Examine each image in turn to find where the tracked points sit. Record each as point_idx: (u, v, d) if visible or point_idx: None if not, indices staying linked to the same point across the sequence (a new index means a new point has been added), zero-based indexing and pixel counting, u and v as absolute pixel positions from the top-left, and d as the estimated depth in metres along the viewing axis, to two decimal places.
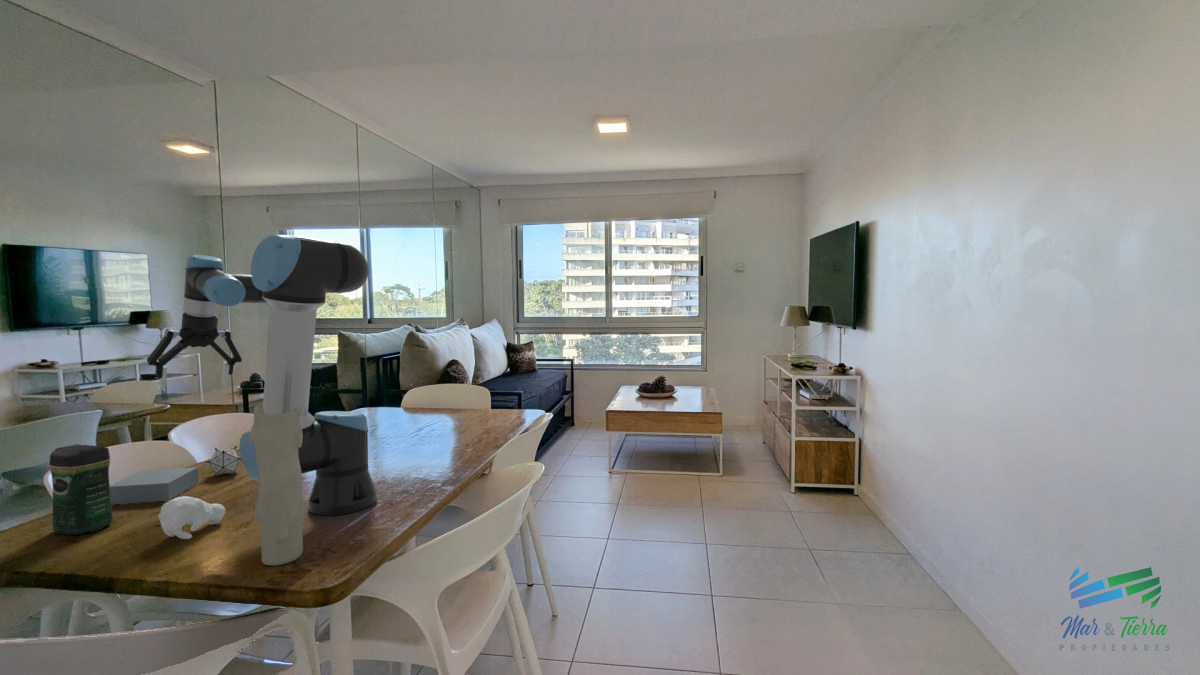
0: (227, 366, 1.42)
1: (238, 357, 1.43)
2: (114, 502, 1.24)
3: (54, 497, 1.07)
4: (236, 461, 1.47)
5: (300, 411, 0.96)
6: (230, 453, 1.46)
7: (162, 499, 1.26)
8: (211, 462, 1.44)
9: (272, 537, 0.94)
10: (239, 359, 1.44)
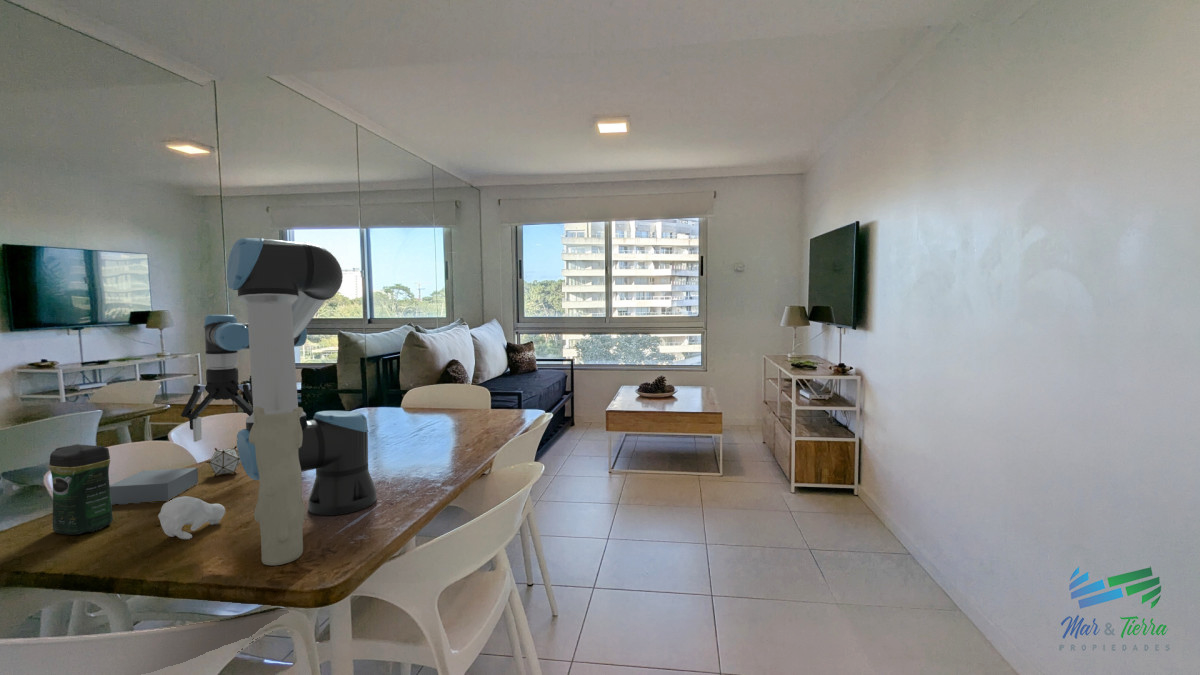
0: (247, 419, 1.47)
1: None
2: (113, 502, 1.24)
3: (54, 497, 1.07)
4: (236, 461, 1.47)
5: (300, 411, 0.96)
6: (230, 453, 1.46)
7: (161, 499, 1.26)
8: (211, 462, 1.44)
9: (272, 537, 0.94)
10: None
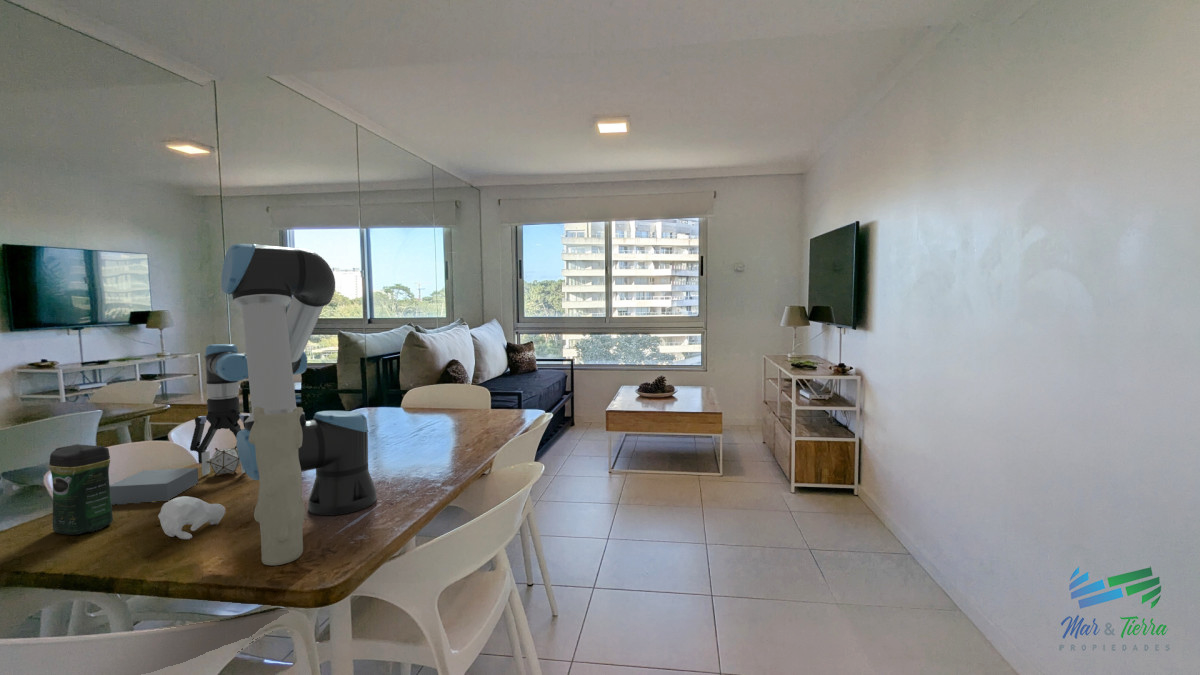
0: None
1: None
2: (113, 502, 1.24)
3: (54, 497, 1.07)
4: (236, 461, 1.47)
5: (300, 411, 0.96)
6: (230, 453, 1.46)
7: (161, 500, 1.26)
8: (212, 462, 1.44)
9: (272, 537, 0.94)
10: None
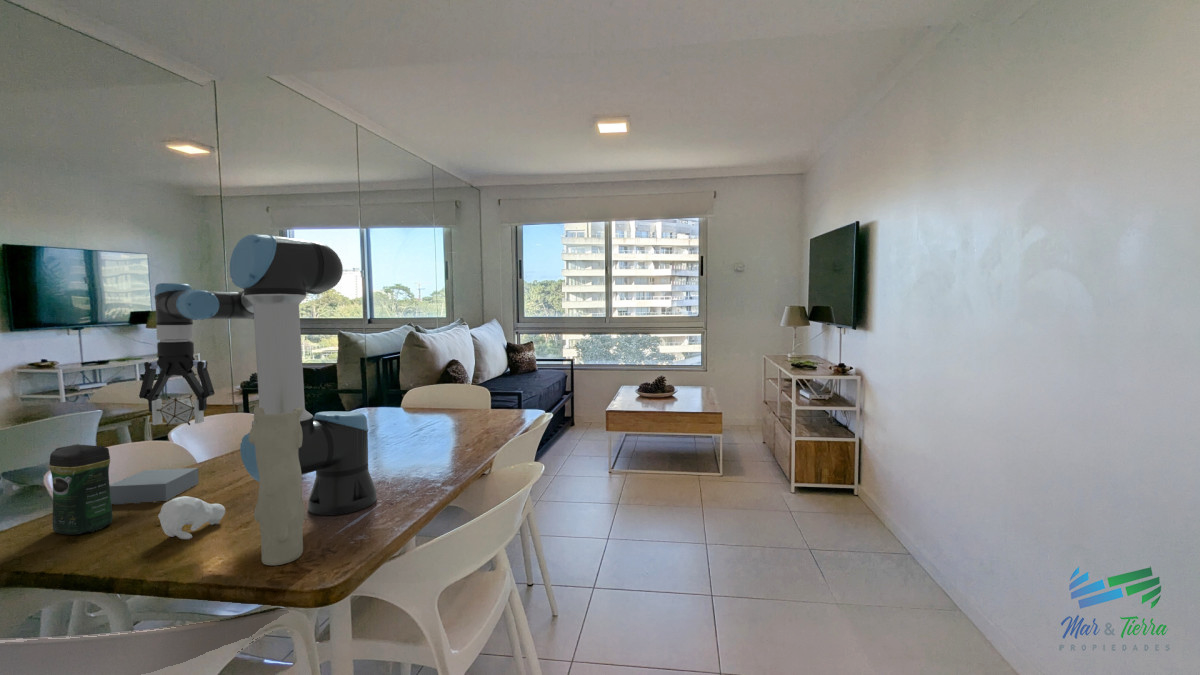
0: (195, 401, 1.35)
1: (206, 391, 1.36)
2: (113, 502, 1.24)
3: (54, 497, 1.07)
4: (190, 410, 1.35)
5: (300, 411, 0.96)
6: (183, 402, 1.35)
7: (159, 500, 1.26)
8: (162, 410, 1.33)
9: (272, 537, 0.94)
10: (207, 393, 1.36)
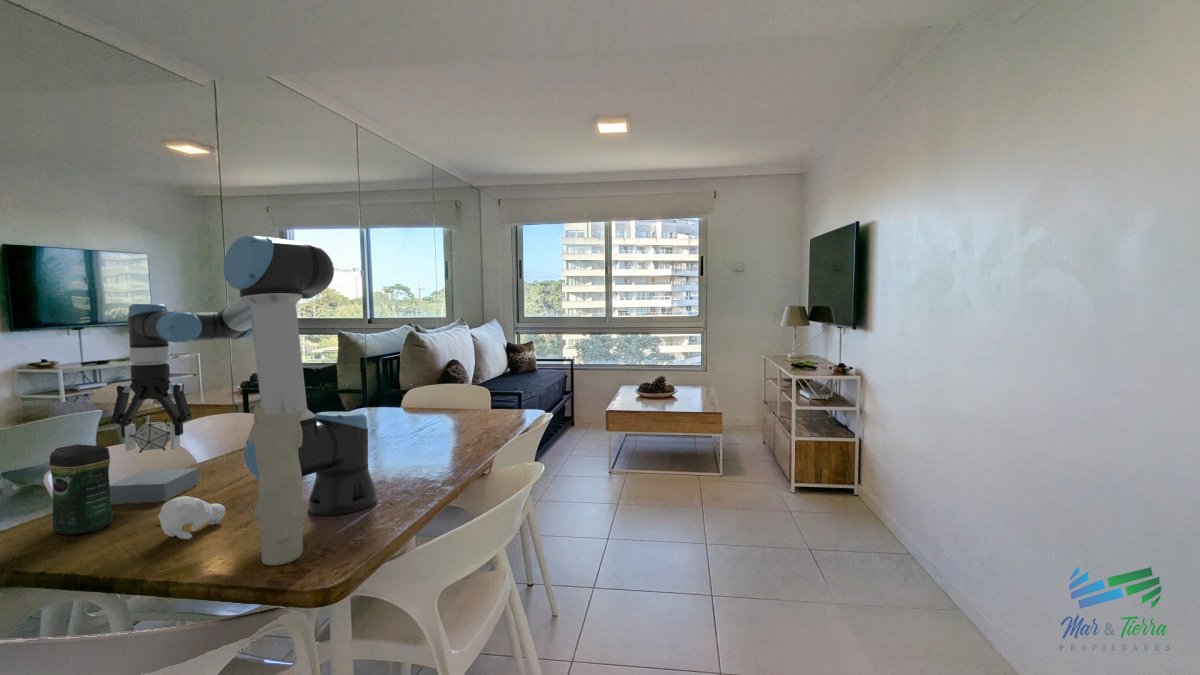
0: (171, 425, 1.30)
1: (182, 415, 1.31)
2: (113, 502, 1.24)
3: (54, 497, 1.07)
4: (165, 436, 1.30)
5: (300, 411, 0.96)
6: (158, 426, 1.30)
7: (159, 500, 1.26)
8: (136, 436, 1.27)
9: (272, 537, 0.94)
10: (183, 417, 1.31)
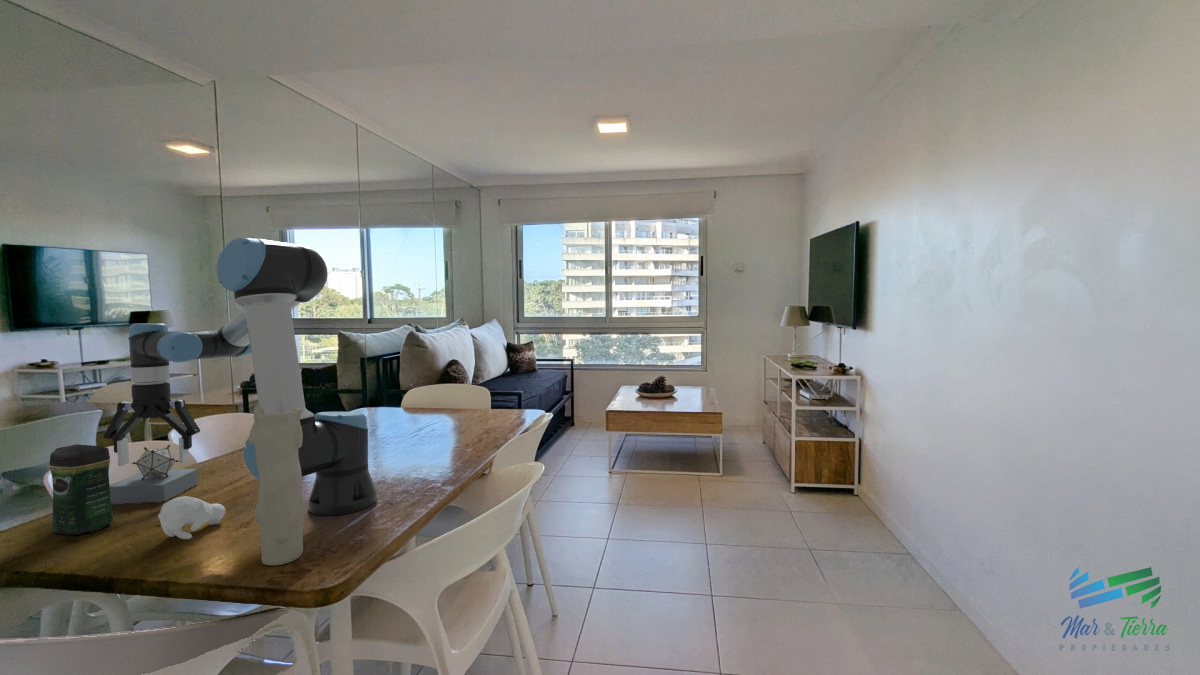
0: (180, 439, 1.31)
1: (190, 429, 1.32)
2: (112, 502, 1.24)
3: (54, 497, 1.07)
4: (168, 462, 1.31)
5: (300, 411, 0.96)
6: (160, 453, 1.30)
7: None
8: (139, 463, 1.28)
9: (272, 537, 0.94)
10: (192, 431, 1.32)
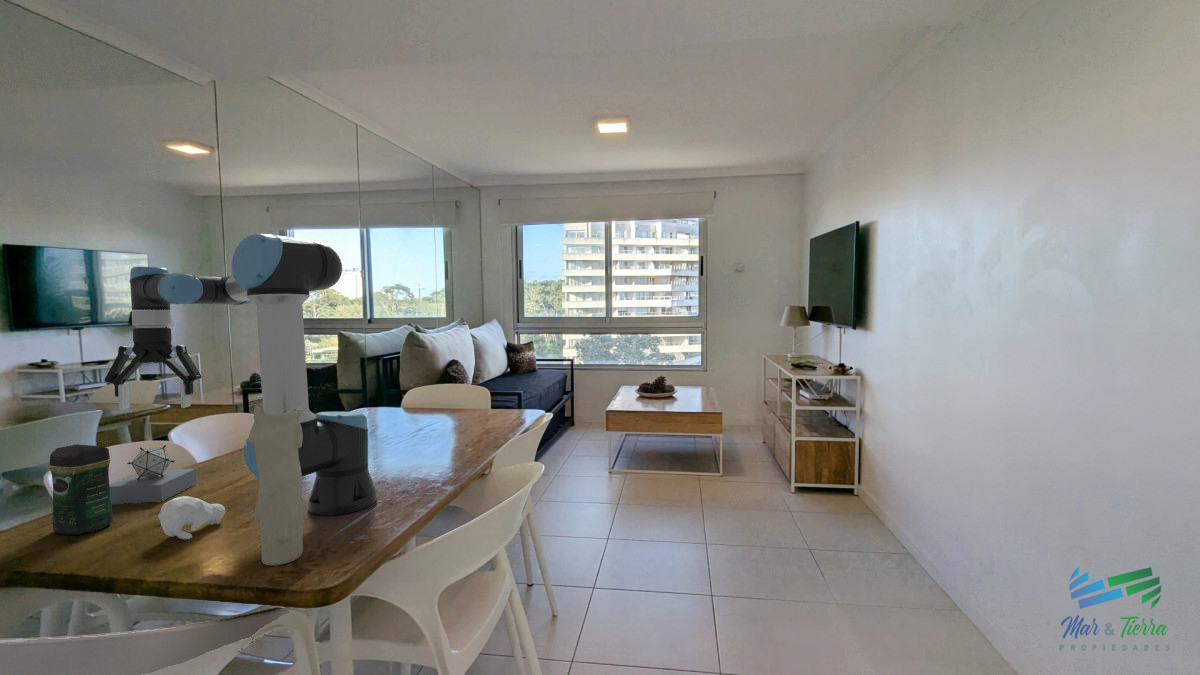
0: (181, 384, 1.31)
1: (192, 374, 1.31)
2: None
3: (54, 497, 1.07)
4: (163, 462, 1.30)
5: (300, 411, 0.96)
6: (156, 453, 1.30)
7: (155, 501, 1.26)
8: (134, 463, 1.28)
9: (272, 537, 0.94)
10: (193, 376, 1.31)
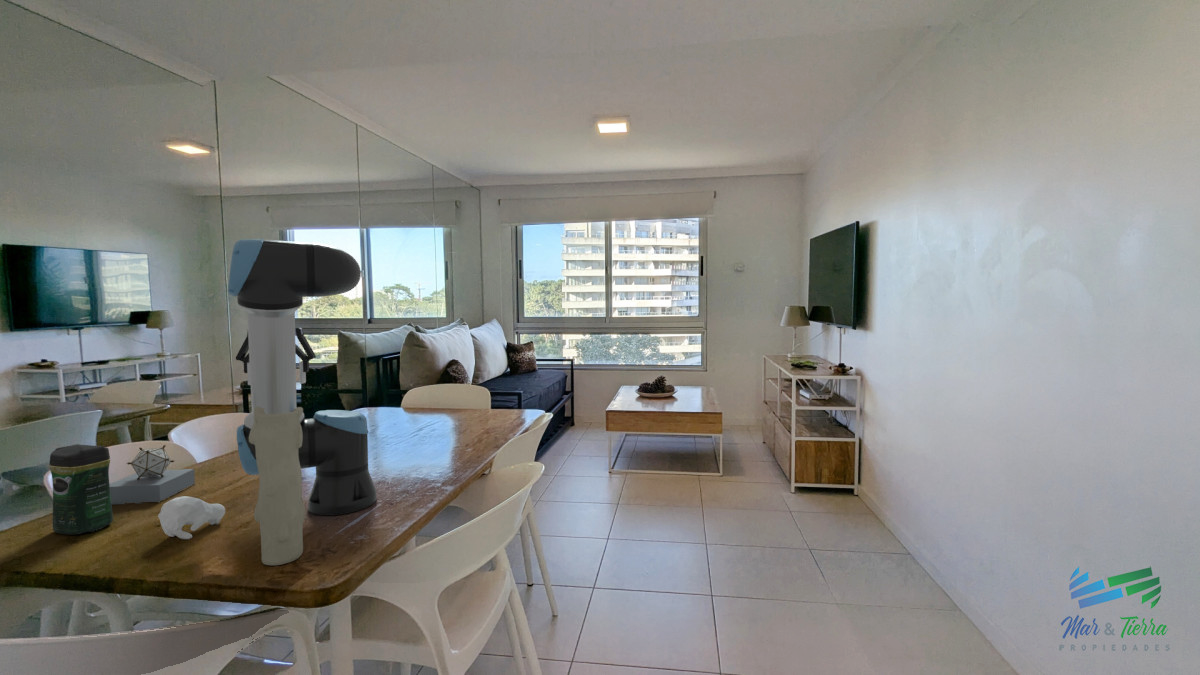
0: (300, 363, 1.47)
1: (309, 354, 1.48)
2: None
3: (54, 497, 1.07)
4: (163, 462, 1.31)
5: (300, 411, 0.96)
6: (155, 453, 1.30)
7: (153, 501, 1.26)
8: (134, 464, 1.28)
9: (272, 537, 0.94)
10: (310, 356, 1.48)
